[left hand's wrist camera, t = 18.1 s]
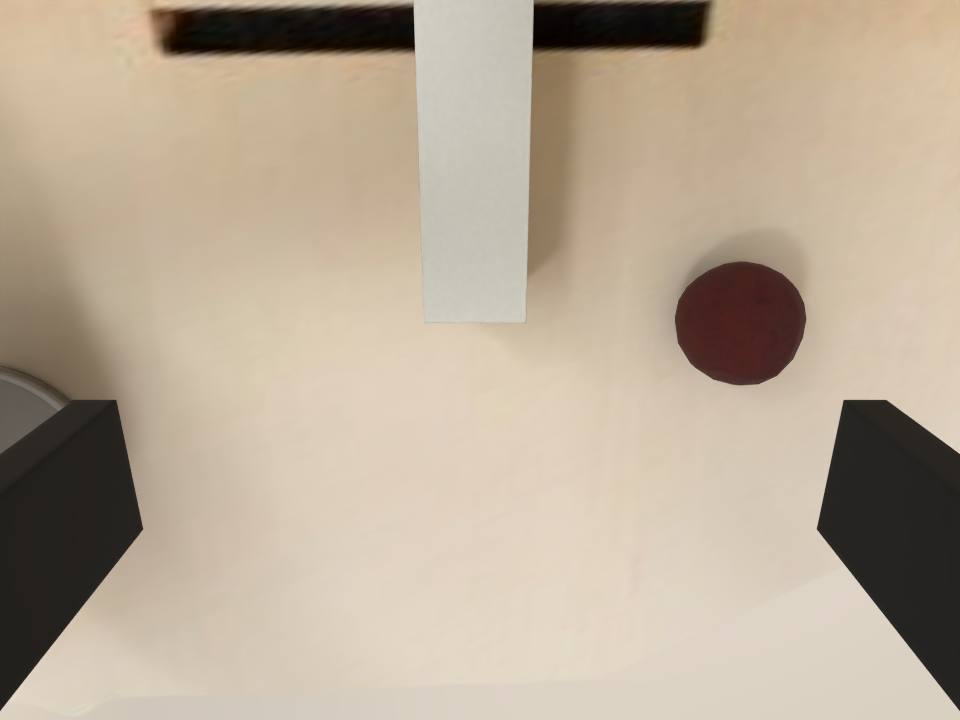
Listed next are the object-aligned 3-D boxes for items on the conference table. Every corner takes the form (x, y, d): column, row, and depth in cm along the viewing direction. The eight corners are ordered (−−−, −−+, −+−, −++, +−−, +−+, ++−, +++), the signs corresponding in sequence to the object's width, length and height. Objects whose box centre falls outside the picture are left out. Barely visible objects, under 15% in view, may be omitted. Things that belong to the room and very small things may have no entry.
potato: (785, 252, 44) (839, 279, 37) (762, 364, 47) (809, 408, 40) (671, 248, 44) (705, 274, 37) (655, 360, 46) (684, 403, 40)
